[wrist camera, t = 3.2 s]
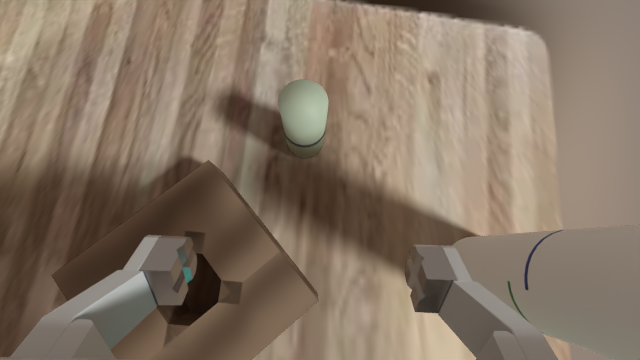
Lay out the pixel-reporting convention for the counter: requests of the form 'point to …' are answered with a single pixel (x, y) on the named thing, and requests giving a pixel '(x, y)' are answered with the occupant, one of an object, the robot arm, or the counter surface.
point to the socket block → (224, 257)
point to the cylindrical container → (566, 283)
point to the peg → (304, 116)
